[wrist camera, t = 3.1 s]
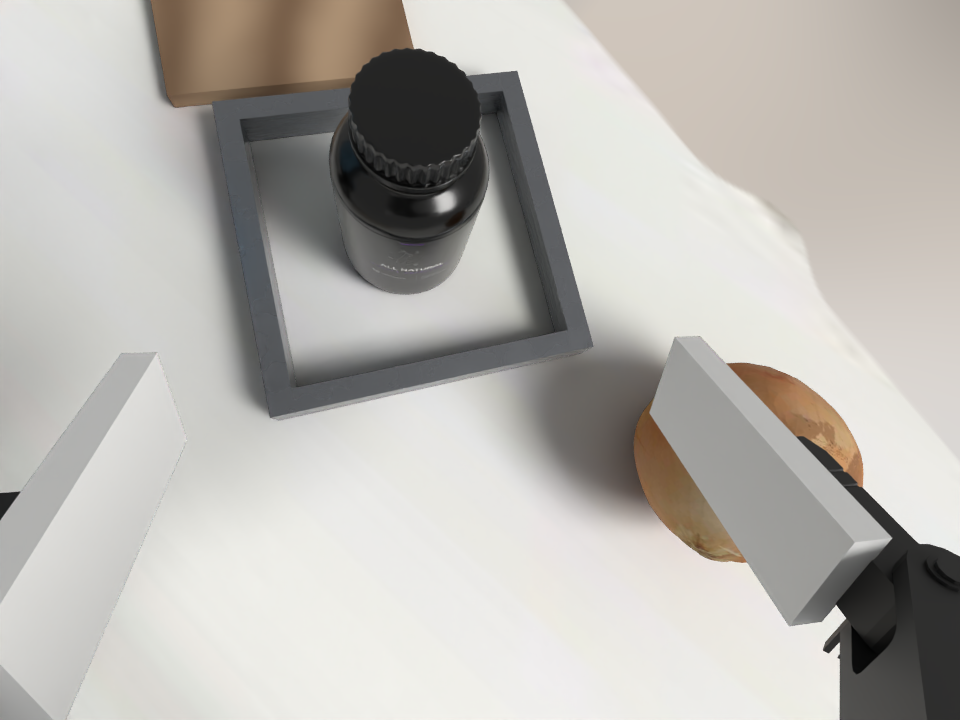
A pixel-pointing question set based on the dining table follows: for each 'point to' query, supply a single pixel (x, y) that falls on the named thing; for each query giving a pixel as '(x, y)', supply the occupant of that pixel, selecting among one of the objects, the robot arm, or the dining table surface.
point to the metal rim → (287, 400)
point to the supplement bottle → (408, 169)
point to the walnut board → (270, 45)
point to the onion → (680, 494)
